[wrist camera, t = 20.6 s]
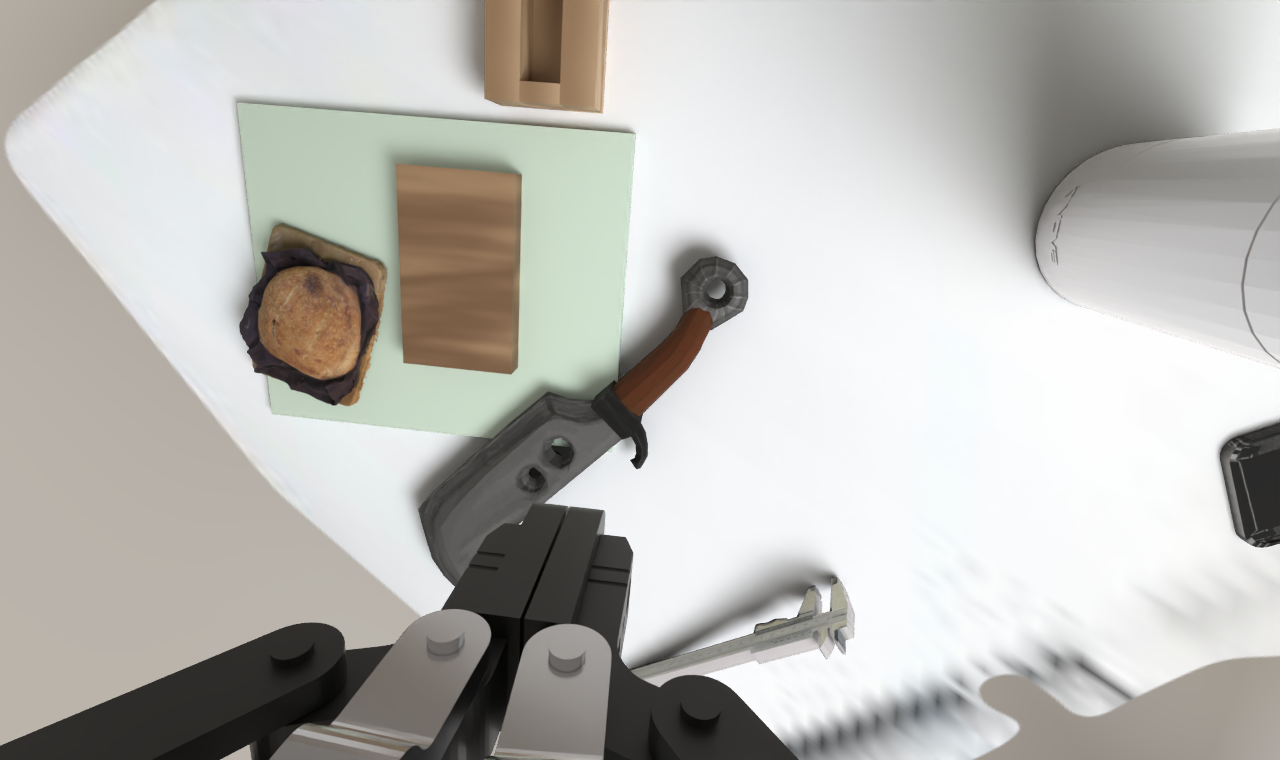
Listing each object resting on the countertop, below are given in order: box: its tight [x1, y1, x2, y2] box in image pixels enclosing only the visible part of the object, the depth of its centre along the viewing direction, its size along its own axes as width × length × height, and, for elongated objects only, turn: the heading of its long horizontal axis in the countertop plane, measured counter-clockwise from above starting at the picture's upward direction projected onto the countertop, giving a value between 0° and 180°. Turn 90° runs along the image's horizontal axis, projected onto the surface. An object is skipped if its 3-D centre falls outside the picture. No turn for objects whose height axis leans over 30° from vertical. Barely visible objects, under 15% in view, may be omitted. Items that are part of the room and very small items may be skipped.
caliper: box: [630, 577, 855, 687], centre depth 43 cm, size 20×1×6 cm, turn 123°
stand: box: [485, 0, 609, 113], centre depth 33 cm, size 6×10×3 cm, turn 175°
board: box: [396, 164, 522, 375], centre depth 37 cm, size 2×7×12 cm
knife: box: [418, 257, 748, 586], centre depth 40 cm, size 9×2×30 cm
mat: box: [237, 103, 636, 452], centre depth 39 cm, size 24×20×1 cm
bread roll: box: [239, 223, 387, 406], centre depth 38 cm, size 11×8×4 cm
